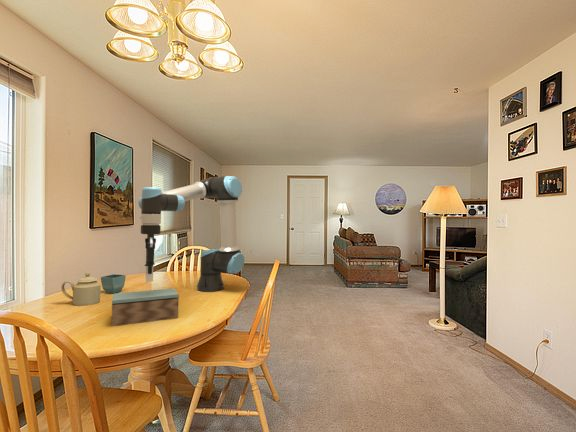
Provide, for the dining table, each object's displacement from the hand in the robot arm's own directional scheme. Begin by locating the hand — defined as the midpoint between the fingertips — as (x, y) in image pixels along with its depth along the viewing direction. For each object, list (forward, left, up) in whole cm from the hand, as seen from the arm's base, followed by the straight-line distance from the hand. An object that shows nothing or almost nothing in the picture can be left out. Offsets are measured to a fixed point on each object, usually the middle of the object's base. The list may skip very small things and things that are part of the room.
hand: (149, 281), depth 128 cm
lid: (+1, -1, -7) cm, 7 cm away
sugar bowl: (+27, -34, -15) cm, 46 cm away
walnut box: (+1, -1, -15) cm, 15 cm away
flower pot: (+15, -52, -15) cm, 56 cm away
